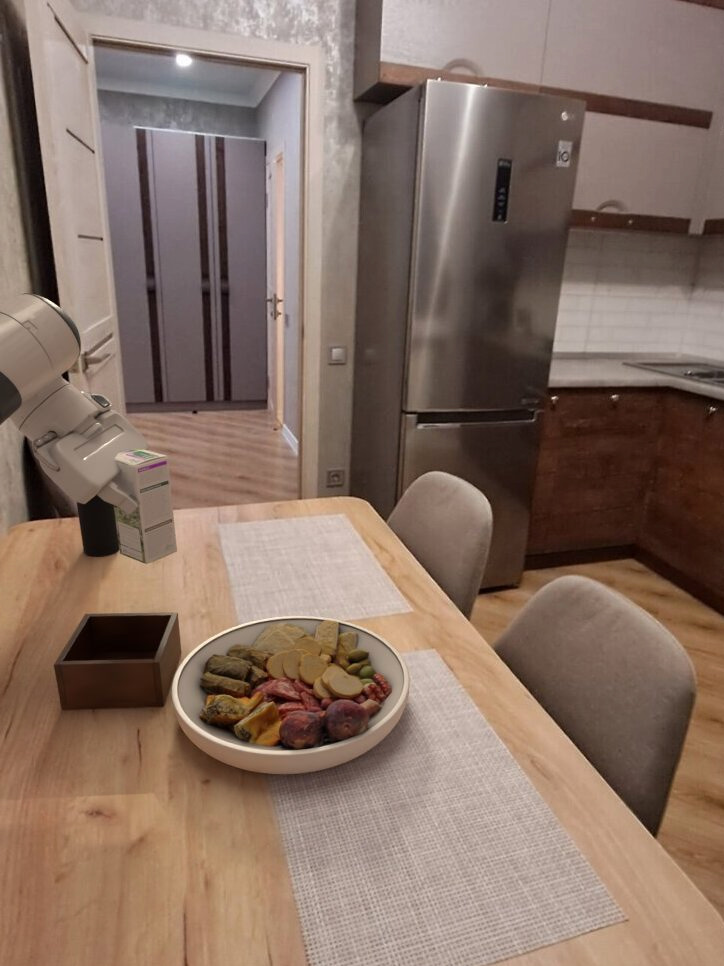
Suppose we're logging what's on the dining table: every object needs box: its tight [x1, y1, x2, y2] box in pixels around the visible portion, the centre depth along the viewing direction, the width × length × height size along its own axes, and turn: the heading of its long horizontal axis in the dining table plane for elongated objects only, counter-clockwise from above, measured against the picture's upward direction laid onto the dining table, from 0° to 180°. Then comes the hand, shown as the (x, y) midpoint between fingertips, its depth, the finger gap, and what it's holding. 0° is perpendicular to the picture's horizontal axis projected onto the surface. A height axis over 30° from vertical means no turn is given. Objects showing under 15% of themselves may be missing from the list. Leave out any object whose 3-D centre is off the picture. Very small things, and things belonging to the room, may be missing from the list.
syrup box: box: [111, 449, 178, 565], centre depth 92 cm, size 6×6×14 cm
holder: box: [53, 612, 182, 711], centre depth 90 cm, size 13×13×7 cm
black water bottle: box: [76, 392, 120, 557], centre depth 123 cm, size 6×6×30 cm
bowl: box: [170, 615, 411, 775], centre depth 86 cm, size 30×30×8 cm
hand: (147, 497), depth 91 cm, fingers closed on syrup box, 7 cm apart
